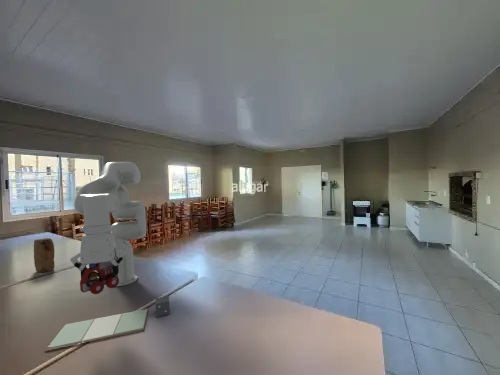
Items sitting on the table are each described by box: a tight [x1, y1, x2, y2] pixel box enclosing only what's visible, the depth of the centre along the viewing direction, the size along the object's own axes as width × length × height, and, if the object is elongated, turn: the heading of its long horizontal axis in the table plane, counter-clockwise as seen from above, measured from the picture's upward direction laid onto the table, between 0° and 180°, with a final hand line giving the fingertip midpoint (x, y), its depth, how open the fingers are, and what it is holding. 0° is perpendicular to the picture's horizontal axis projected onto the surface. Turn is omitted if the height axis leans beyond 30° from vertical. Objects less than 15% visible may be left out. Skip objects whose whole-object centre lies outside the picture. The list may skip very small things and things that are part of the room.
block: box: [33, 237, 55, 273], centre depth 145 cm, size 11×8×20 cm
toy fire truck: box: [79, 256, 119, 295], centre depth 82 cm, size 7×12×10 cm, turn 148°
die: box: [155, 295, 171, 318], centre depth 91 cm, size 5×5×5 cm
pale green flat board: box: [47, 308, 149, 347], centre depth 83 cm, size 14×28×1 cm, turn 108°
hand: (100, 278), depth 82 cm, fingers closed on toy fire truck, 8 cm apart
